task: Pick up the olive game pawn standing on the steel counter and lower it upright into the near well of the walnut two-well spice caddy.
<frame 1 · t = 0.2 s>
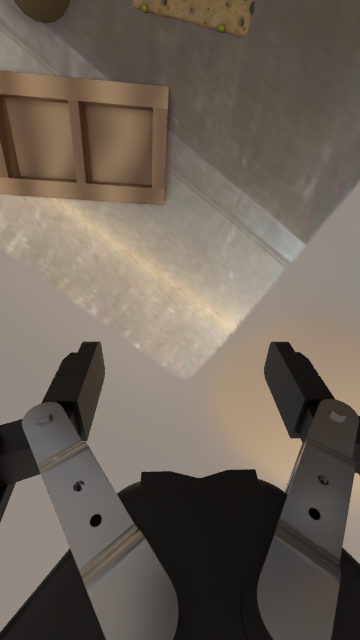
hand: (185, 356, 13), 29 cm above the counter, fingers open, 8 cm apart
caddy: (85, 144, 33), on the counter
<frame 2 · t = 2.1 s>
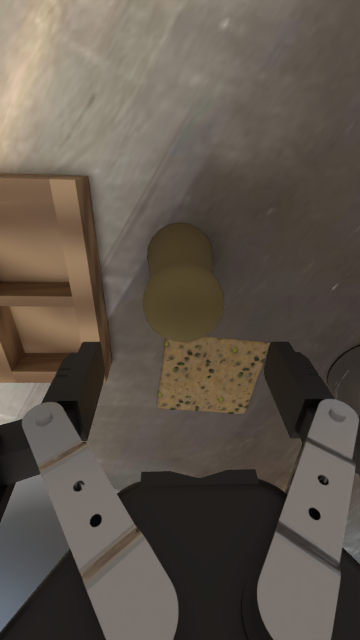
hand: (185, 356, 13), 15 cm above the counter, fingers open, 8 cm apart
olive game pawn: (179, 255, 26), on the counter
caddy: (44, 284, 27), on the counter
tan speckled flat square: (209, 373, 34), on the counter
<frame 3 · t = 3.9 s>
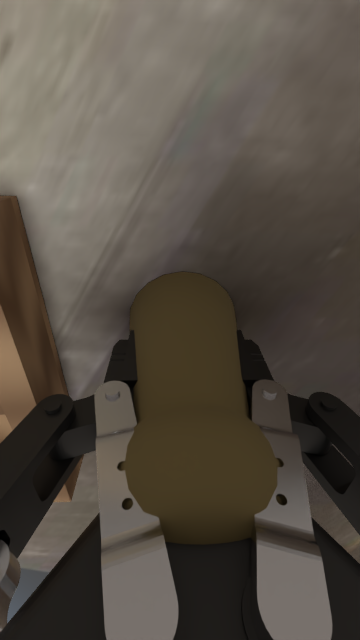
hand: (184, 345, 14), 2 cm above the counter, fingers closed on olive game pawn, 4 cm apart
olive game pawn: (182, 319, 16), on the counter, touching gripper
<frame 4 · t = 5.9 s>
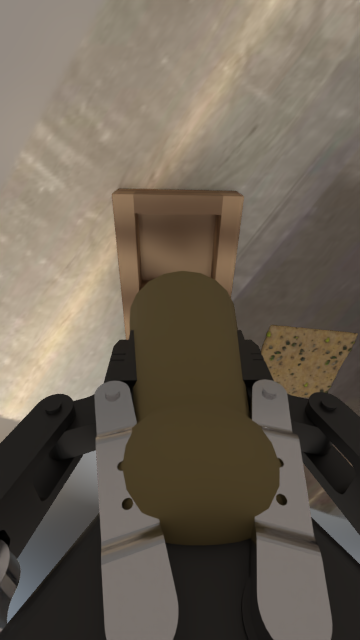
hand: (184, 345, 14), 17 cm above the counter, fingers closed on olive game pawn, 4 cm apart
olive game pawn: (182, 318, 16), point 15 cm above the counter, touching gripper
caddy: (176, 283, 31), on the counter
tan speckled flat square: (297, 361, 39), on the counter
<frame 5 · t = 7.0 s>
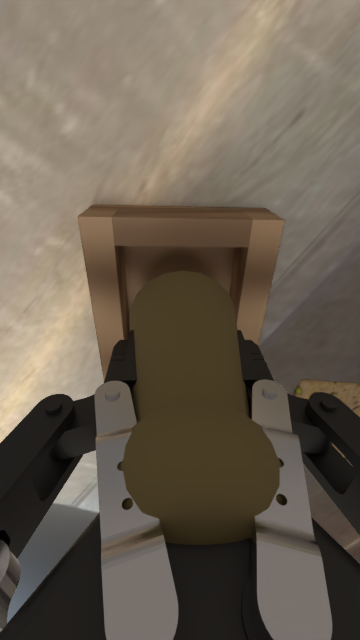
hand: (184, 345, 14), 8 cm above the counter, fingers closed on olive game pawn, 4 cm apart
olive game pawn: (182, 318, 16), point 5 cm above the counter, touching gripper
caddy: (177, 330, 23), on the counter
tan speckled flat square: (330, 418, 30), on the counter
when the fingers open (4 cm above the counter, at t = 7.9 s): olive game pawn drops 2 cm, resting on caddy.
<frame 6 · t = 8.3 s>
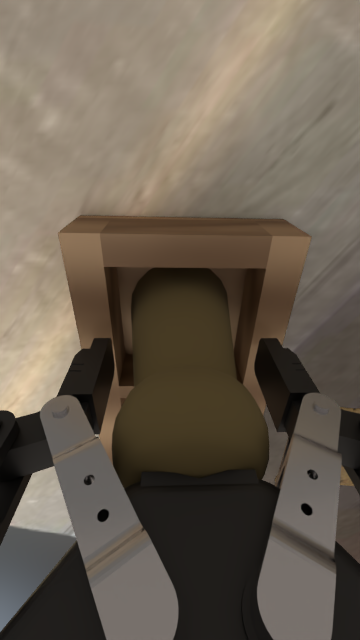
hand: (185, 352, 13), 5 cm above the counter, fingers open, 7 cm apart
olive game pawn: (179, 305, 17), resting on caddy
caddy: (179, 355, 20), on the counter
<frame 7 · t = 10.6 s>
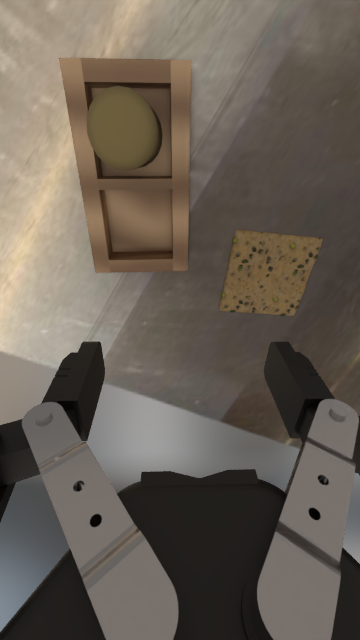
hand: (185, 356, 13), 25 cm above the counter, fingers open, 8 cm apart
olive game pawn: (133, 135, 29), resting on caddy
caddy: (137, 180, 31), on the counter
tan speckled flat square: (266, 274, 39), on the counter
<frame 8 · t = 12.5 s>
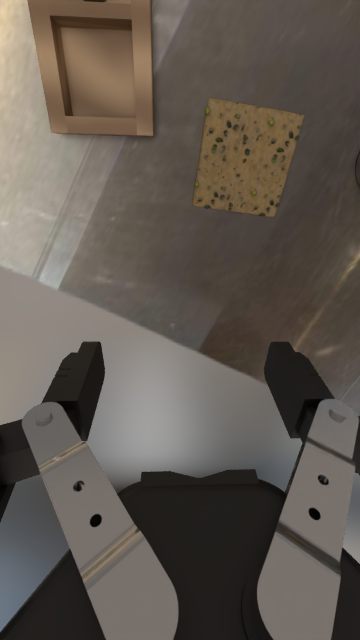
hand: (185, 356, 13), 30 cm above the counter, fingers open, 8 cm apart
caddy: (98, 23, 28), on the counter
tan speckled flat square: (243, 162, 36), on the counter
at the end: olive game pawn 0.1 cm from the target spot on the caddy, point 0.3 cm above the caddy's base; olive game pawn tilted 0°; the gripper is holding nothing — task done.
